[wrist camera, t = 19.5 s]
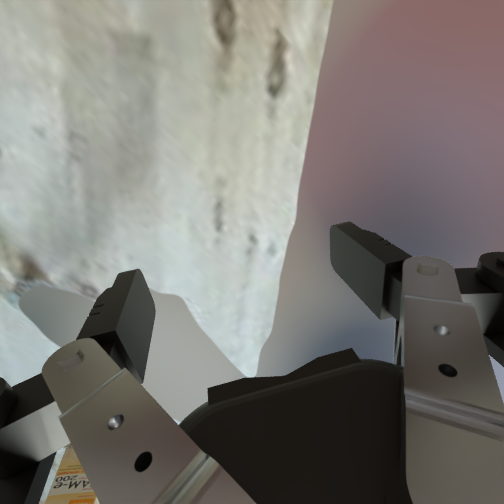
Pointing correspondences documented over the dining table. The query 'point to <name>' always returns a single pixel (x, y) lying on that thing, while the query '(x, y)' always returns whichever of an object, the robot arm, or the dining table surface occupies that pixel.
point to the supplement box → (71, 482)
